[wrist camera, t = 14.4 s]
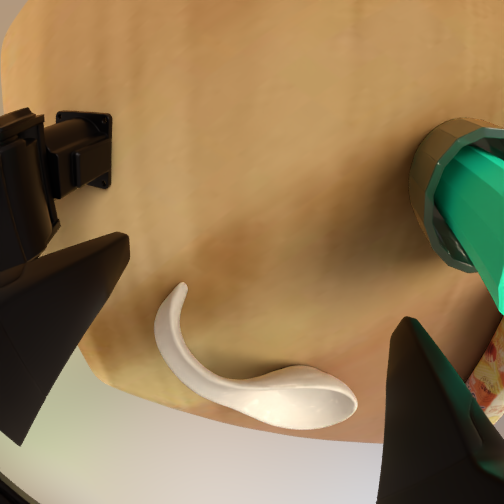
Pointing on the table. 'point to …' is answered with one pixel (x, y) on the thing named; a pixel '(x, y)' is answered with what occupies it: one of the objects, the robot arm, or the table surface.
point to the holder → (429, 173)
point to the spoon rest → (255, 381)
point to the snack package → (490, 377)
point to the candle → (476, 212)
